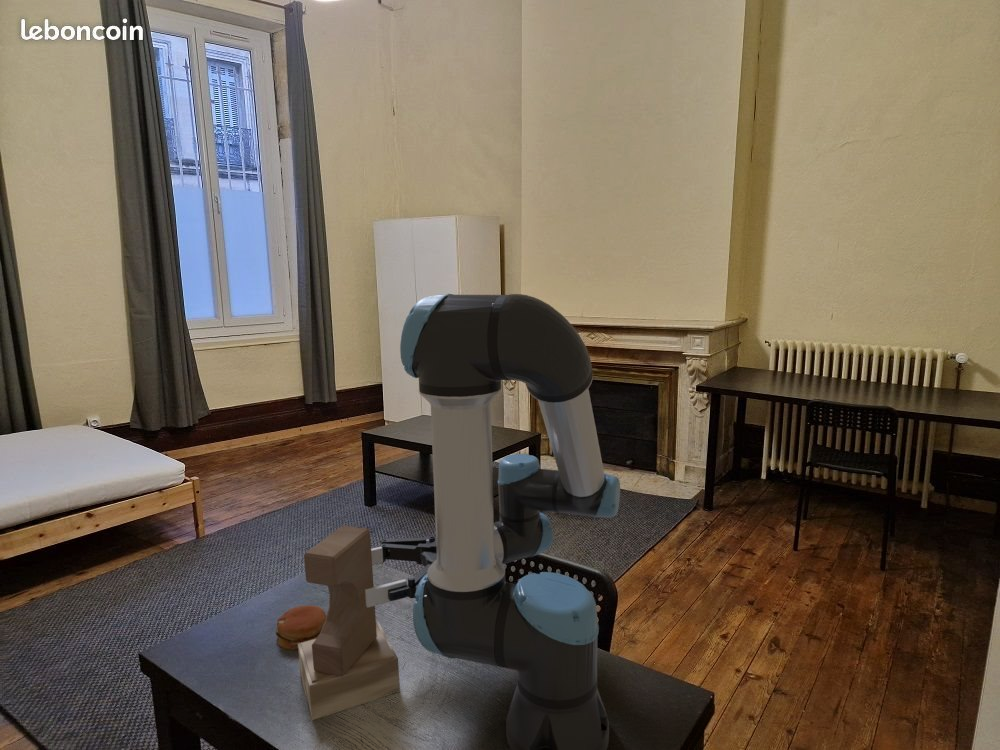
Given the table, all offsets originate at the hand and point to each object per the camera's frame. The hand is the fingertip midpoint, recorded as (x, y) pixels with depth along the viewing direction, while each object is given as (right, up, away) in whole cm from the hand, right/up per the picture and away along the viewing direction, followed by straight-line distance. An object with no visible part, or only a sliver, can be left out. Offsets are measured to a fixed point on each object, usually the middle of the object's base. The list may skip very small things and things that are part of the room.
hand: (355, 579), depth 101 cm
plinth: (-1, -18, +2) cm, 18 cm away
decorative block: (-1, -12, 0) cm, 12 cm away
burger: (-14, -16, +16) cm, 26 cm away
